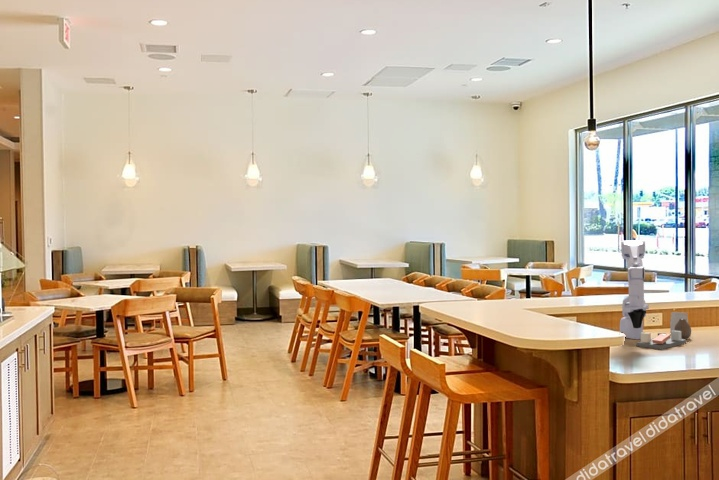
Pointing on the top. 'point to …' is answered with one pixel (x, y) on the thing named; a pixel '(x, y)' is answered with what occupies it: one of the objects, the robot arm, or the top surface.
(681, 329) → the vase
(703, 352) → the top surface
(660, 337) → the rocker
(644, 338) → the slotted cream block
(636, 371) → the top surface
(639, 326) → the robot arm
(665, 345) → the console
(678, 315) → the grey rectangular block
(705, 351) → the top surface
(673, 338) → the slotted white box
